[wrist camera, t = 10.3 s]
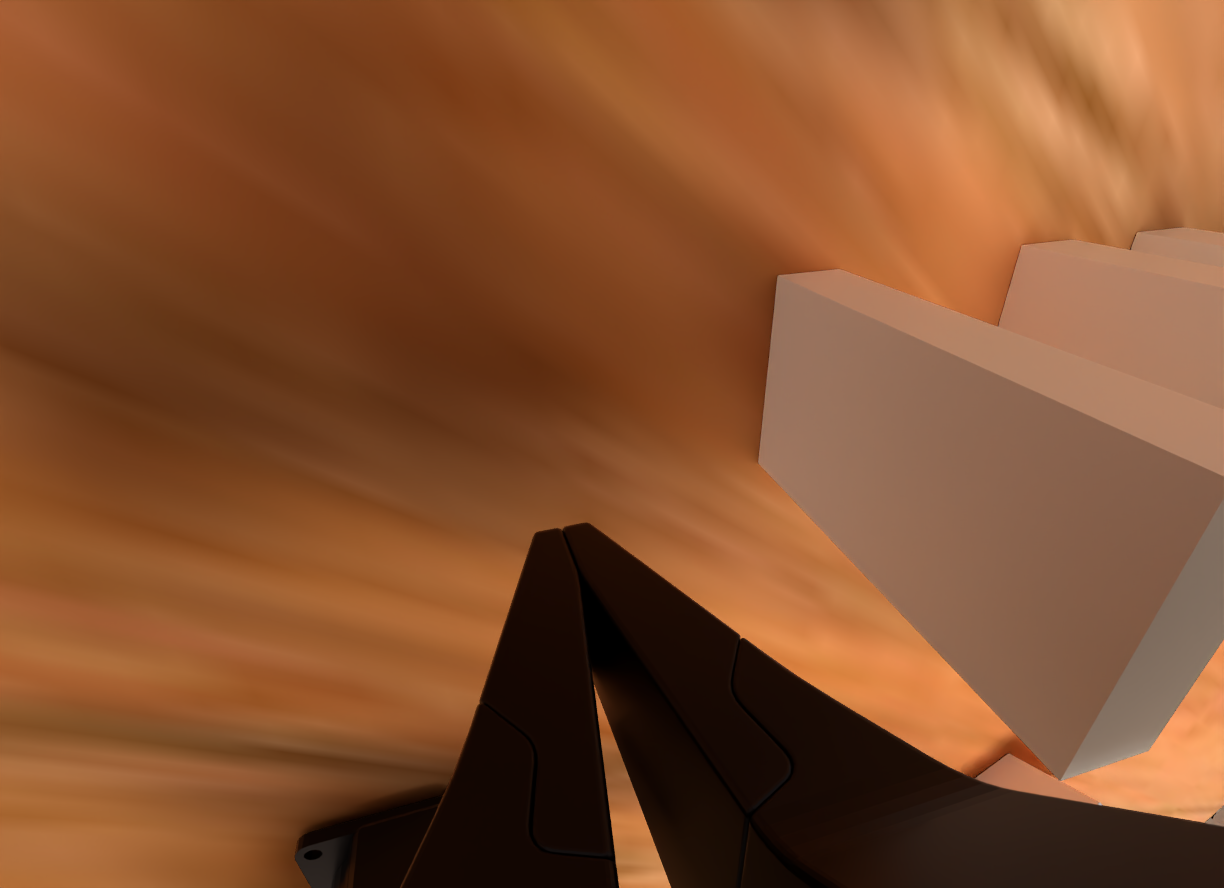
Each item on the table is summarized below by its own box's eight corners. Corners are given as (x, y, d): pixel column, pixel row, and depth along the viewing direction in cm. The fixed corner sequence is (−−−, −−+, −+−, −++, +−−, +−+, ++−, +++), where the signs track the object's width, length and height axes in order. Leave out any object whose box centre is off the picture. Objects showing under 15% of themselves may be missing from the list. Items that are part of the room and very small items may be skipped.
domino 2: (1014, 414, 18) (1462, 639, 10) (969, 422, 17) (1396, 662, 10) (1072, 239, 15) (1729, 361, 7) (1021, 244, 15) (1651, 378, 7)
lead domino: (811, 453, 16) (1148, 751, 9) (757, 463, 16) (1060, 781, 8) (839, 269, 14) (1348, 455, 6) (777, 275, 13) (1233, 480, 6)
